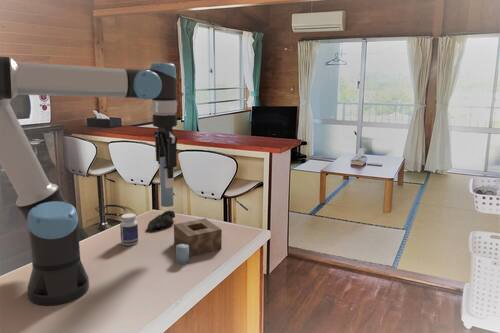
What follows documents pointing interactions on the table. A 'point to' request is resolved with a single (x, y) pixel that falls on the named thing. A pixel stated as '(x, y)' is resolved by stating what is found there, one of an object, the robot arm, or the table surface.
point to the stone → (161, 220)
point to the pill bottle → (129, 229)
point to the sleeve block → (198, 236)
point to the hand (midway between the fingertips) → (166, 185)
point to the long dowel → (165, 192)
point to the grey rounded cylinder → (182, 253)
